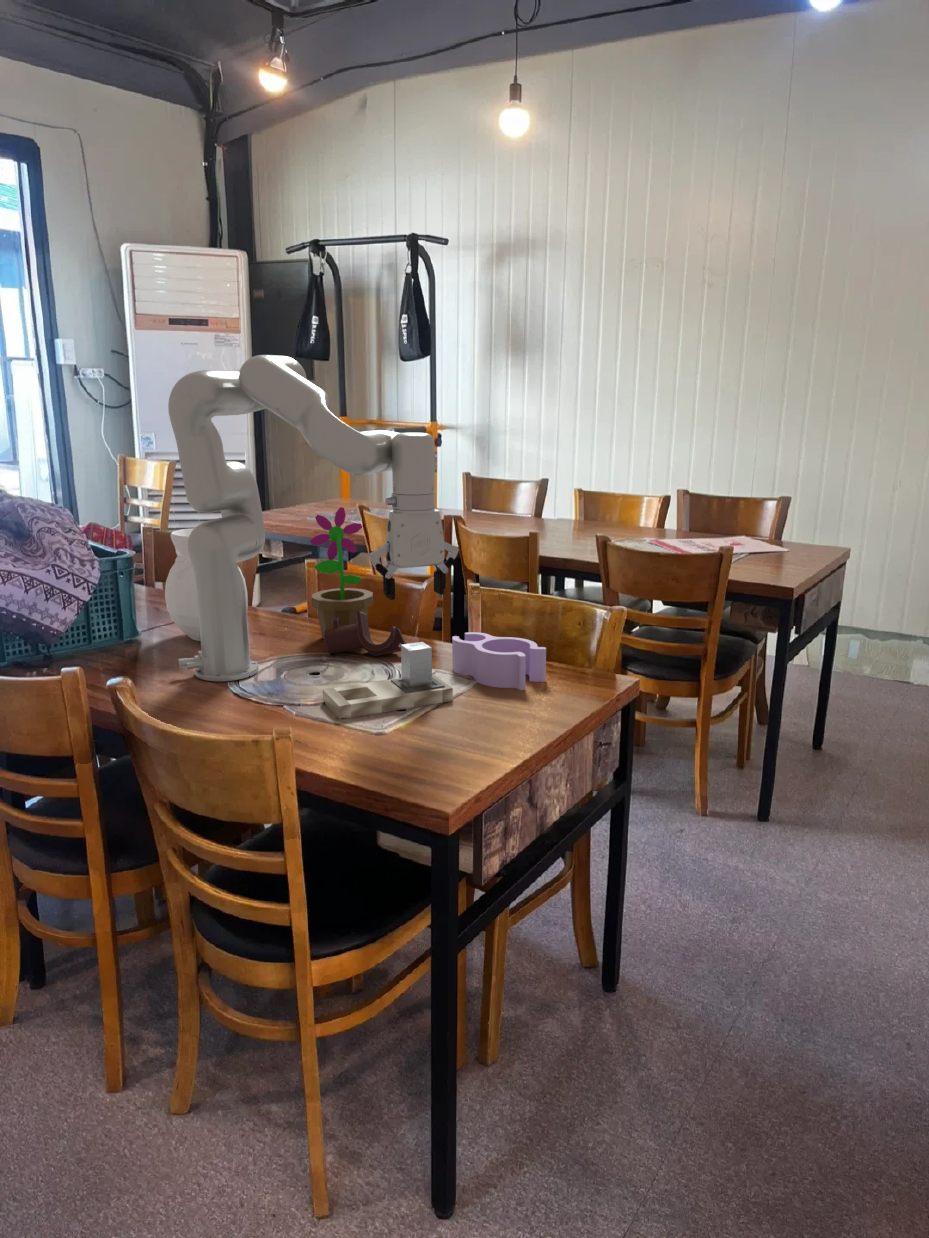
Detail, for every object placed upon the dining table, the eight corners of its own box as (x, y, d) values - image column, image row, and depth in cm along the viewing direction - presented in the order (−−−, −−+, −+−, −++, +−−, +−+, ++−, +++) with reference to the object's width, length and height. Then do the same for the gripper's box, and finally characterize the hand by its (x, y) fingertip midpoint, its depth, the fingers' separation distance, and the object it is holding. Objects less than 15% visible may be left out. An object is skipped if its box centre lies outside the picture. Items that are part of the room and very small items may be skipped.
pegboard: (339, 719, 162) (339, 704, 161) (323, 702, 170) (322, 687, 170) (452, 700, 171) (452, 686, 170) (431, 685, 180) (431, 671, 179)
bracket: (403, 648, 195) (396, 603, 196) (327, 663, 197) (320, 617, 198) (409, 651, 201) (402, 606, 202) (335, 665, 203) (328, 621, 204)
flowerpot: (366, 627, 222) (362, 504, 215) (381, 642, 209) (378, 511, 202) (307, 632, 218) (301, 507, 210) (320, 648, 205) (313, 515, 197)
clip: (439, 673, 188) (438, 640, 186) (479, 659, 197) (479, 628, 195) (514, 694, 175) (515, 659, 173) (554, 678, 184) (554, 645, 182)
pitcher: (152, 639, 213) (142, 532, 207) (214, 622, 228) (206, 522, 221) (205, 652, 203) (196, 540, 196) (267, 633, 217) (260, 529, 211)
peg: (410, 702, 170) (409, 650, 168) (402, 695, 174) (400, 644, 172) (432, 698, 172) (431, 647, 170) (423, 691, 176) (422, 641, 173)
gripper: (375, 508, 157) (377, 605, 161) (466, 502, 164) (466, 595, 169) (361, 503, 164) (363, 596, 168) (449, 498, 171) (449, 587, 175)
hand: (414, 595), depth 168 cm, fingers open, 9 cm apart
